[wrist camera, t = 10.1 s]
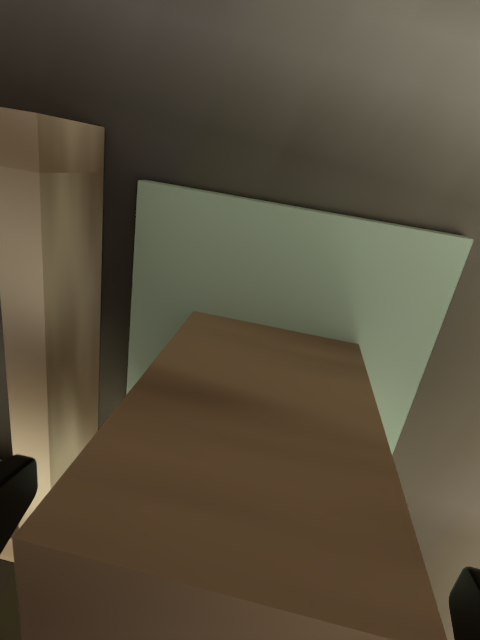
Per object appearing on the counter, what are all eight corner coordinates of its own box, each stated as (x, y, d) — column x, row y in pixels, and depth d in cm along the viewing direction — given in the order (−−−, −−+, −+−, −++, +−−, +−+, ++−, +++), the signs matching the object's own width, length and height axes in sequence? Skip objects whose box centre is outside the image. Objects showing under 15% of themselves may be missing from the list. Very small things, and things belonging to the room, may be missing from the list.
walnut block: (320, 475, 13) (336, 850, 6) (178, 442, 14) (32, 753, 6) (358, 344, 12) (451, 654, 4) (193, 310, 12) (11, 537, 5)
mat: (350, 547, 15) (351, 561, 15) (127, 491, 16) (120, 502, 15) (465, 236, 11) (474, 239, 10) (146, 179, 11) (137, 180, 11)
